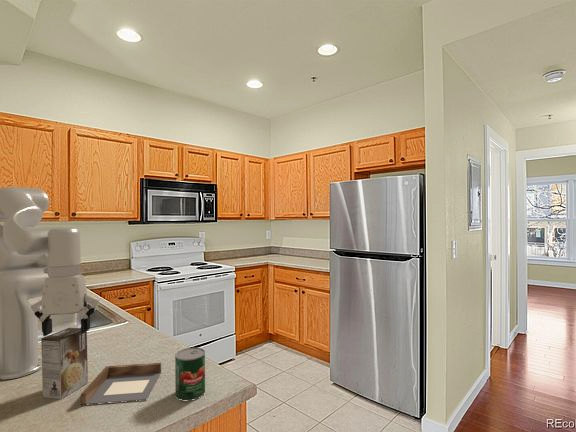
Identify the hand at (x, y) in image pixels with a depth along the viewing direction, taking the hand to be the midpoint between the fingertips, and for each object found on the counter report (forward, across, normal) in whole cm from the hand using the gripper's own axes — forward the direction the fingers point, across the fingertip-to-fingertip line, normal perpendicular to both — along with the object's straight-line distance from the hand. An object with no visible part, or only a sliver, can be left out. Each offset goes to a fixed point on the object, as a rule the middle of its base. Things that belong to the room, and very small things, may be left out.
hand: (66, 333), depth 93 cm
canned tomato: (+17, +34, -6) cm, 39 cm away
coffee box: (+16, -1, +1) cm, 16 cm away
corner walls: (+16, +15, 0) cm, 22 cm away
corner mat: (+16, +15, 0) cm, 22 cm away
